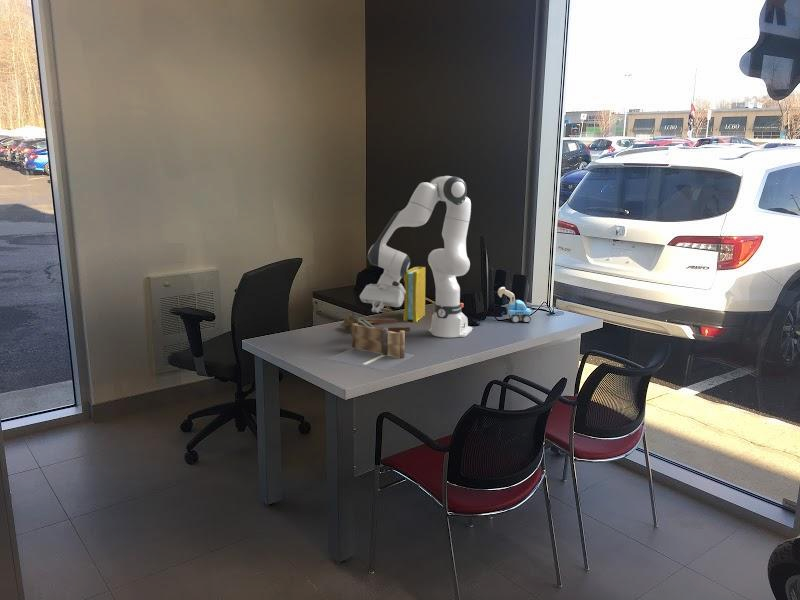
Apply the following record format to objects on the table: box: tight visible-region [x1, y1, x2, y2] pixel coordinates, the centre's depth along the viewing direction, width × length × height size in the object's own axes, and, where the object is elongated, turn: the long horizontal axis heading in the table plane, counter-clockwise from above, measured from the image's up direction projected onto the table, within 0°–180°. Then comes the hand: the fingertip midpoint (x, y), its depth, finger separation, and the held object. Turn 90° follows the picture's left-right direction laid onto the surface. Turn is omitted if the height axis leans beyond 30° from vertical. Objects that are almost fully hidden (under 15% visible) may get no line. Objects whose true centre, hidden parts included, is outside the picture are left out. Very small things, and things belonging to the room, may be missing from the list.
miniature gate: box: [340, 313, 411, 335], centre depth 312 cm, size 27×6×30 cm
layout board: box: [325, 347, 416, 372], centre depth 267 cm, size 24×28×1 cm
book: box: [403, 266, 426, 323], centre depth 332 cm, size 17×7×25 cm, turn 159°
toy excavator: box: [497, 286, 532, 323], centre depth 327 cm, size 9×17×17 cm, turn 88°
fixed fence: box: [382, 328, 406, 358], centre depth 267 cm, size 10×2×11 cm, turn 59°
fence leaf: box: [351, 323, 382, 353], centre depth 274 cm, size 15×2×10 cm, turn 59°
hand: (374, 311), depth 284 cm, fingers closed
